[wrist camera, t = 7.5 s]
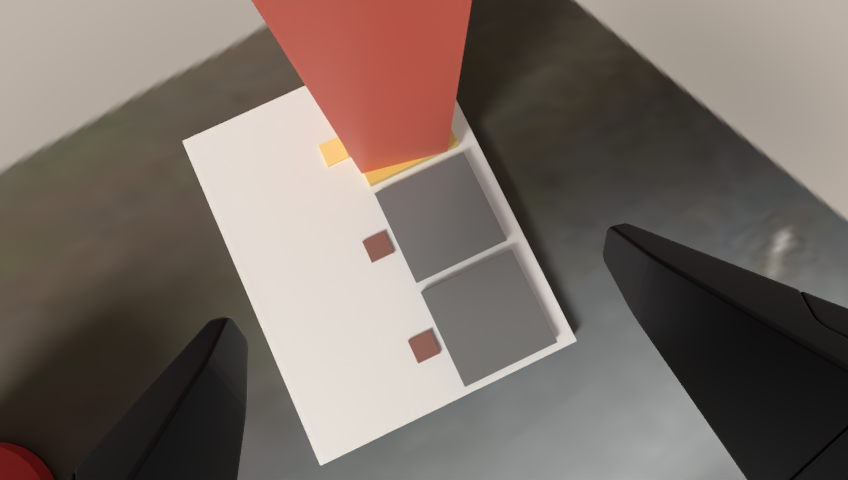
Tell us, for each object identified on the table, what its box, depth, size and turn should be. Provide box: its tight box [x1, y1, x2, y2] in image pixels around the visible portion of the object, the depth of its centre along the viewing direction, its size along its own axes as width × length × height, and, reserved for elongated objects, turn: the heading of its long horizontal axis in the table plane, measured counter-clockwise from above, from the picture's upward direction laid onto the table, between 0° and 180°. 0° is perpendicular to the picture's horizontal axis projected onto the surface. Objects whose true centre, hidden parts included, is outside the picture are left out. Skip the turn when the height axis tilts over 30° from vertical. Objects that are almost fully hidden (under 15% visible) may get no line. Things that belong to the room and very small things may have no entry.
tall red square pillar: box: [252, 0, 472, 173], centre depth 14 cm, size 4×4×13 cm
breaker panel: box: [182, 85, 577, 466], centre depth 20 cm, size 18×14×1 cm
